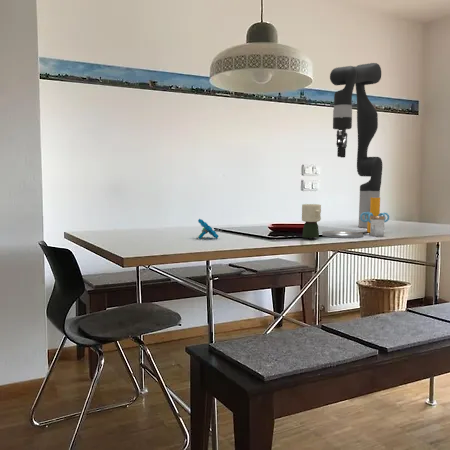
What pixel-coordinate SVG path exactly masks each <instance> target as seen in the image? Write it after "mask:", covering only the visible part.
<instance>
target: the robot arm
mask: <svg viewBox="0 0 450 450" xmlns="http://www.w3.org/2000/svg"><path fill="white" fill-rule="evenodd" d="M329 79H330V82H331V83H332V84H333V85H334V86H344V87H343V88H342V89H340V90H337V91H336V92H335V93H334V95H333V112H332V129H333V130H336V135H335V136H336V143H335V145H336V148H337V158H346V150H347V147H348V146H347V144H348V132H347V131H346V130H351V129H352V126H353V124H352V123H353V106H352V103H353V100H352V98H353V91H354V88H355V94H356V128H357V155H356V157H357V158H356V172H357V174H358V175H359V177H366V178H367V177H370V179H369V180H368V181H367V182H364V183H362V184H360V185H359V206H358V227H359V228H362V229H364V228H365V229H367V222H363V221H361V219H360V215H361V214H362V213H364V212H370V198H371V197H378V198H380V199H381V185H382V175H383V160H382V158H381V157H379V156H368V149H369V146H370V144H371V141H372V140H373V138H374V137H375V135H376V133H377V131H378V127H379V123H378V122H379V120H378V117H379V116H378V111H377V110H376V108H375V106H374V105H373V103H372V102H371V101H370V99H369V97H368V95H367V93H366V86H369V85H374V84H377V83H379V82H380V81H381V80H382V68H381V65H380V64H379V63H377V62H371V63H363V64H359V65H356V66H354V65H347V66H339V67H335V68H333V69H331V72H330V73H329ZM364 216H365V214H364V215H362V219H363V220H365V217H364ZM366 218H367V219H368V215H366Z"/></svg>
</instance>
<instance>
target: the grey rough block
mask: <svg viewBox="0 0 450 450" xmlns="http://www.w3.org/2000/svg"><path fill="white" fill-rule="evenodd" d="M385 217H386V215H385V216H383V215H382V216H371V230H370V233H369V235H370V237H374V238H382V237H383V236H385V222H384V219H385ZM383 238H384V237H383Z"/></svg>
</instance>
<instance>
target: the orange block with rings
mask: <svg viewBox="0 0 450 450" xmlns="http://www.w3.org/2000/svg"><path fill="white" fill-rule="evenodd" d="M364 214H365V216H364V217H365V220H363V219H362V215H364ZM366 215H368V219H367V218H366ZM371 216H385V219H384V223H387V222H388V221H389V220H390V214H389V213H388V212H381V197H380V198H378V197H371V198H370V212H364V213H362V214H361V215H360V219H361V221H363V222H367V228H366V232H367V233H369V234H370V230H371Z"/></svg>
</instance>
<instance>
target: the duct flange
mask: <svg viewBox="0 0 450 450" xmlns="http://www.w3.org/2000/svg"><path fill="white" fill-rule="evenodd" d="M321 235H322V236H323V237H325V238H336V239H361V238H363V237H364V233H363V232H361V231H360V232H359V231H353V230H352V231H351V230H327V231H326V230H324V231H322V232H321Z"/></svg>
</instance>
